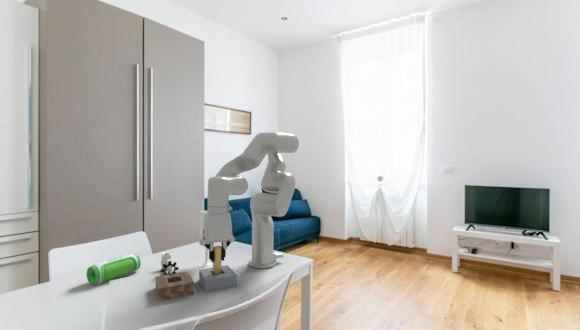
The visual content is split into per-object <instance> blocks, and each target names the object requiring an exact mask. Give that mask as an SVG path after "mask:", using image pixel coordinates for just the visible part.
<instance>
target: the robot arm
mask: <svg viewBox="0 0 580 330" xmlns="http://www.w3.org/2000/svg"><path fill="white" fill-rule="evenodd" d="M299 147H300V141H299V138H298V137H297V136H296V135H295V134H292V133H285V132H280V131H273V132H271V131H270V132H269V131H268V132H259V133H257V134H256V135H255V136H254V137H253V138H252V139H251V141H250V143H249V144H247V147H246V148H245V149H244V151H243V152H242V153H241V154H239V155H238V156H236V157H234V158H233V159H231V160H229V161H228V162H226V163H225V164H224V165H223V166H222V167H221V168H220V169H219V171H218V172H217V173H216V175H215V176H210V177H209V178H208V181H207V210H208V211H207V214H205V217H204V223H203V234H202V238H201V240H200V239H199V242H198V243H199V246H203V247H204V248H205V249H206V248H208V260H210V261H211V262H212V263H213V262H214V258H215V251H214V249H213V247H214V246H215V243H221V245H220V246H222V257H221V262H222V261H225V258H226V250H227V249H228V247H229V246H230V245H231V244H232V243H234V242H235V241H236V239H235V237H234V234H233V223H232V217H231V213H230V211H232V210H233V206H231V205H229V202H230V196H242V195H243V194H245V193H246V192H247V191H248V188H249V183H248V180H247V179H246V178H245V177H243V176H241V175H240V174H242V173H245V172H248V171H251V170H254V169H256V168H258V167H259V166H260V165H261V163H262V162H263V160H264V159H265V157H266V156H267V161H268V162H267V165H266V168H265V170H264V173H263V177H262V178H261V183H260V186H261V189H262V190H263V191H264V192H258V193H255V194H253V195H252V196H251V198H250V202H249V207H250V214H251V219H252V220H251V225H252V226H251V227H252V228H251V258H250V259H249V260H248V262H247V264H248V265H249V267H250V268H255V269H268V268H273V267H275V266H276V265H277V263H278V262H277V259H280V258H283V257H284V253H282V252H280V253H279V252H274V236H275V235H274V231H275V230H274V229H275V227H274V226H275V224H274V221H273V218H272V217H277V218H278V217H280V218H281V217H284V216H285V215H286V214H287V212H288V211H289V208H290V205H291V202H292V198H293V195H294V193H295V189H296V179H295V176H294V175H293V174H292V173H290V172H285V170H286V166H287V165H286V161H285V159H284V156H282V154H283V153H284V154H293V153H296V151H298V149H299ZM205 242H207V243H208V244H207V243H205Z"/></svg>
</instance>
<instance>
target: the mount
mask: <svg viewBox="0 0 580 330" xmlns="http://www.w3.org/2000/svg"><path fill="white" fill-rule="evenodd" d="M155 290H156V294H157V298H158V301H159V302H161V301H165V300H166V301H167V300H172V299H177V298H182V297H187V296H192V295H195V281H194V279H193V278H192V276H191V273H190V272H189V271H182V272H176V273H175V274H169V275H163V274H162V275H158V276H155Z"/></svg>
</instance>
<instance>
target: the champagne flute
mask: <svg viewBox="0 0 580 330" xmlns="http://www.w3.org/2000/svg"><path fill="white" fill-rule="evenodd" d="M207 211H208V209H207V210H201V211H200V212H201V214H200V222H199V232H198V239H199V241H200V240H201V238H202V234H203V223H204V217H205V214H207ZM205 243H207V242H205ZM207 244H208V243H207ZM204 259H205V260H204V263H203V264H201V265H200V266H199V267H210V266H213V263H210V262H209V249H208V248H206V247H205V258H204Z"/></svg>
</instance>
